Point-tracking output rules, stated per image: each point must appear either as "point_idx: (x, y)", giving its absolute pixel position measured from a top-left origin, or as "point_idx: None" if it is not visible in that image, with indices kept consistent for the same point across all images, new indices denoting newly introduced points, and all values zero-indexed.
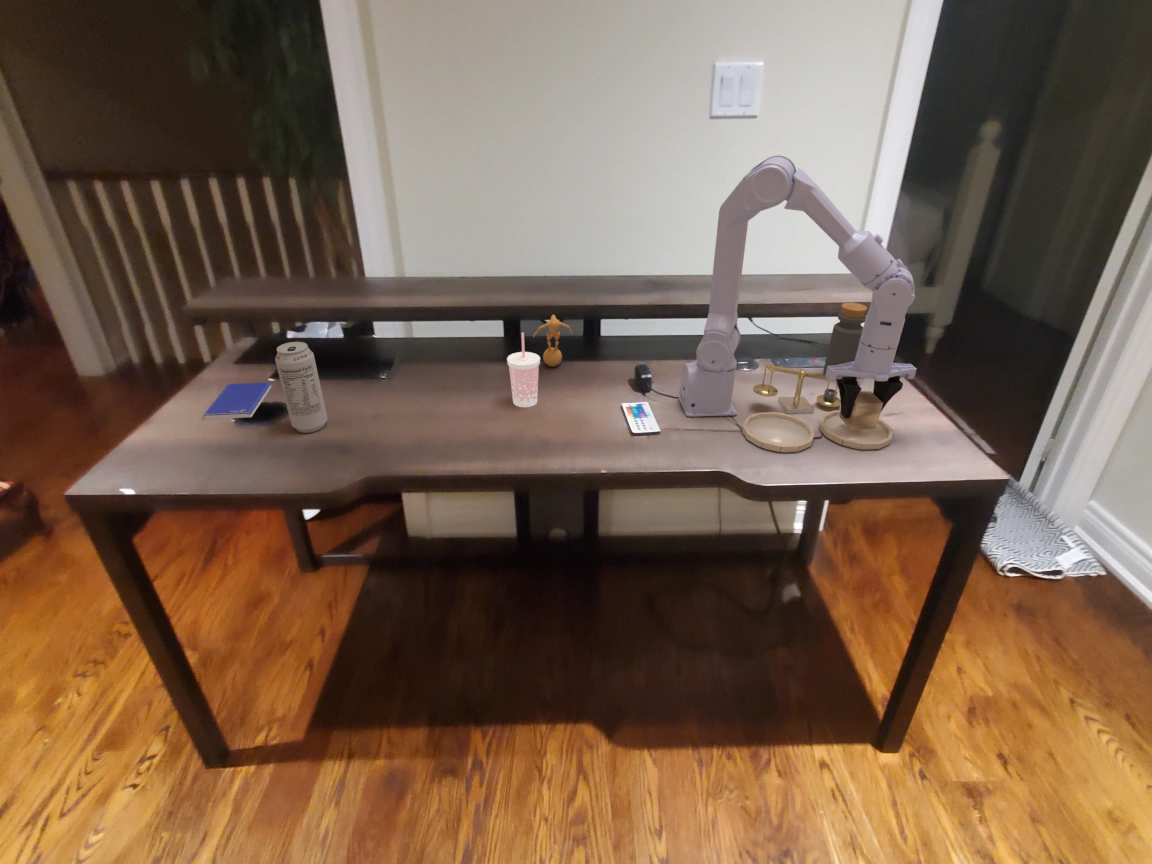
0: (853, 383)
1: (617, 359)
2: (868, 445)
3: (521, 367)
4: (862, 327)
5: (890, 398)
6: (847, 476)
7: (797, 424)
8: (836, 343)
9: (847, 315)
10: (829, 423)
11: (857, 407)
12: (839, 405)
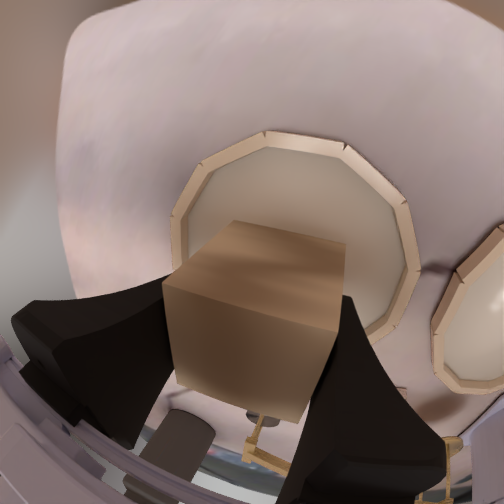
0: (345, 493)
1: (466, 487)
2: (318, 138)
3: None
4: (124, 485)
5: (113, 294)
6: (473, 32)
7: (445, 341)
8: None
9: None
10: None
11: (332, 311)
12: None
